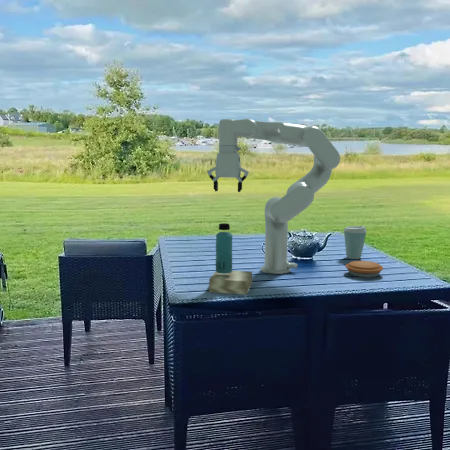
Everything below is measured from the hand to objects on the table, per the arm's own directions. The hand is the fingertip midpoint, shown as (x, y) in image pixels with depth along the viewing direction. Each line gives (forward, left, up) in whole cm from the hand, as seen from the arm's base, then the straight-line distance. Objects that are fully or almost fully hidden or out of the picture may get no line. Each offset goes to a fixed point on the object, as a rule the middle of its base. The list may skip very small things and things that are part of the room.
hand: (227, 191), depth 231 cm
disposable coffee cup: (-54, -39, -34) cm, 75 cm away
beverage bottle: (-3, +25, -30) cm, 39 cm away
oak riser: (-6, +24, -34) cm, 42 cm away
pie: (-57, -8, -35) cm, 67 cm away
